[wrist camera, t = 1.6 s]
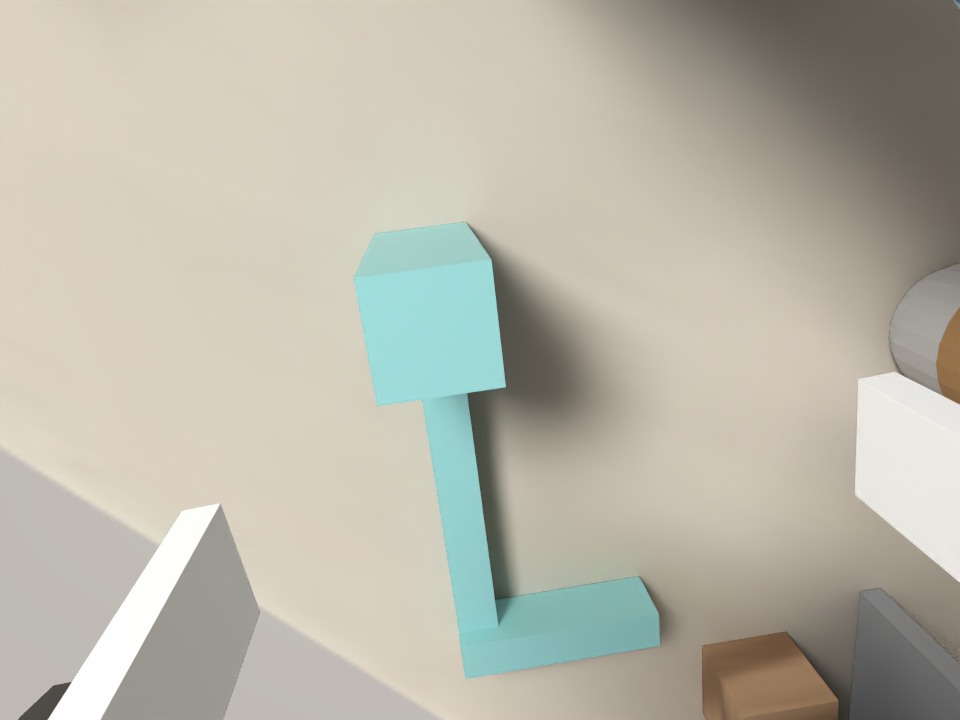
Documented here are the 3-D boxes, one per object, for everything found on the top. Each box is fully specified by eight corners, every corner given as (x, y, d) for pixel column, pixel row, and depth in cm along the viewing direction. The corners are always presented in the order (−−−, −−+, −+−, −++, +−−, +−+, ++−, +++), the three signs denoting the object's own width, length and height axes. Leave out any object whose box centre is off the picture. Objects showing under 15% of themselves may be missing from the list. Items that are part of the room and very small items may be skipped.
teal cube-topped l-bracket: (374, 233, 28) (353, 278, 18) (622, 201, 28) (725, 228, 19) (443, 639, 35) (454, 821, 25) (640, 606, 36) (722, 772, 26)
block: (701, 644, 37) (743, 717, 32) (785, 630, 37) (838, 700, 32) (702, 710, 39) (741, 789, 34) (782, 696, 39) (833, 773, 34)
